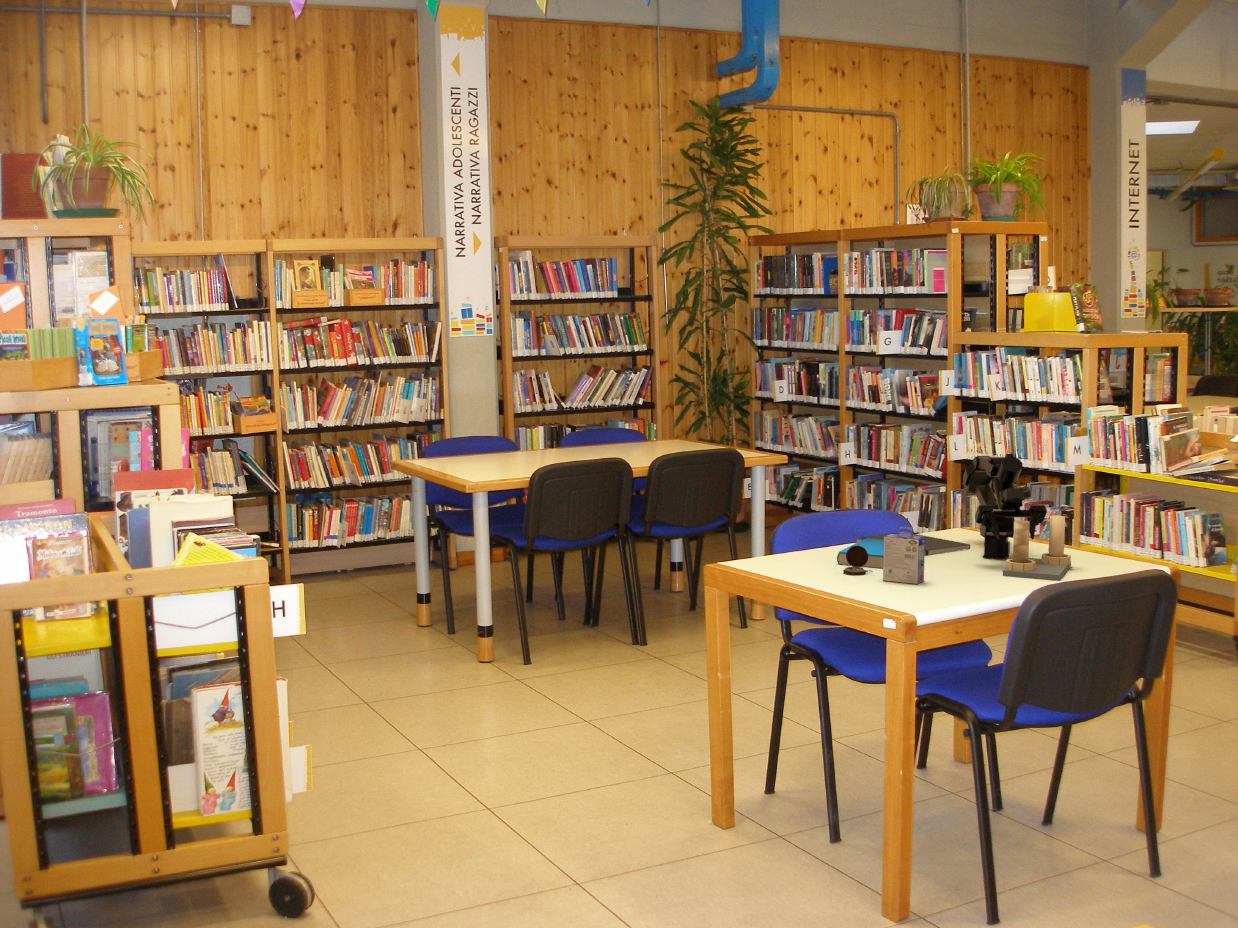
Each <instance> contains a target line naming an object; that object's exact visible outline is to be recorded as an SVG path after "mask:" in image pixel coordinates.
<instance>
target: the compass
mask: <svg viewBox="0 0 1238 928" xmlns="http://www.w3.org/2000/svg"><path fill="white" fill-rule="evenodd" d="M846 560H847V562H848V563H849V564H850V565H851V566H848V567H845V568H843V572H842V573H844V574H845V575H849V576H862V575H863V576H864V575H865V574H866V573H869V572H871V573H873V572H874V571H873V570H869V569H868V570H867V569H865V568H864V567H862V566H864V565H865V564H866V563H867V561H868V552H867V551H866V549H865V548H864V547H862V546H858V545H856V546H852V547H851V548H849V549H848V551H847V553H846Z"/></svg>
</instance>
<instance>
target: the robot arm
mask: <svg viewBox="0 0 1238 928" xmlns="http://www.w3.org/2000/svg"><path fill="white" fill-rule="evenodd" d="M1023 465H1024V464H1023V462H1022V460H1021V459H1020V458H1018V457H1016V456H1014V453H1005V456H990V455H976V456H974V457H973V460H972V462H971V463H970V464H968V465H967V466H966V467H965V469H964V473H963V476H962V484H963V486H964V487H965V489H966V490H967V492H969V493H971V494H974V495H975V496H976V498H977V500H978V503H979V505H978V506H977V507H976V511H975V515H974V520H975V523H976V524H979V525H980V527H979V535H980V536H981V537H983V539H984V544H983V545H984V547H983V549H984V550H983V555H982V558H984V559H985V558H986V559H996V560H1007V558H1010V555H1011V541H1009V538H1012V539H1014V521H1016V520H1015V518H1026V519H1027V520H1026V521H1029V522H1030V524H1029V538H1030V539H1031V540H1034V538H1035V533H1036V527H1037V526H1039V525H1040V524H1042V523H1044V520H1045V518H1046V515H1047V513H1048V509H1047V507H1046V506H1045V505H1044V504H1030V506H1029V508H1028V509H1021V508H1022V507H1023V501H1025V500H1028V499H1030V498H1031V495H1032V493H1031V488H1030V486H1022V487H1016V485H1015V483H1017V482H1018V479H1019V477H1020V474H1021V472H1022V470H1023ZM979 469H980V470H979ZM992 485H993V486H992ZM992 487H993V490H994V492H993V490H992Z"/></svg>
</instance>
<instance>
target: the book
mask: <svg viewBox="0 0 1238 928" xmlns="http://www.w3.org/2000/svg"><path fill="white" fill-rule="evenodd" d="M856 545H858V546H862V547H864V548H865V549H866V551H867V552H868V561H867V563H866V564H865V565H864V567H863V566H862V567H861V568H872V569H873V568H874V569H881V568H882V569H881V570H883V558H884V540H881V539H868V538H866V539H864V540H862V541H860V542H858V543H857V542H855V543H853V544H852V545H849V546H848V547H845V548H843V549H841V550H839V551H838V554H837V557H836V562H837V564H838V565H842V566H848V567H852V566H851V565H850V564H849V563H848V562H847V560H846V553H847V551H848V549H849V548H851V547H852V546H856Z"/></svg>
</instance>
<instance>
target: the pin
mask: <svg viewBox="0 0 1238 928" xmlns="http://www.w3.org/2000/svg"><path fill="white" fill-rule="evenodd" d="M1029 524H1030V522H1029V521H1028V520H1025V519H1024V520H1023V519H1021V520H1019V519H1017V520H1015V521H1014V537H1013V544H1012V545H1013V547H1012V549H1013V550H1012V559H1013V562H1014V563H1028V558H1029V555H1030V554H1029V550H1030V548H1029V547H1030V546H1029V545H1030V533H1029Z"/></svg>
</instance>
